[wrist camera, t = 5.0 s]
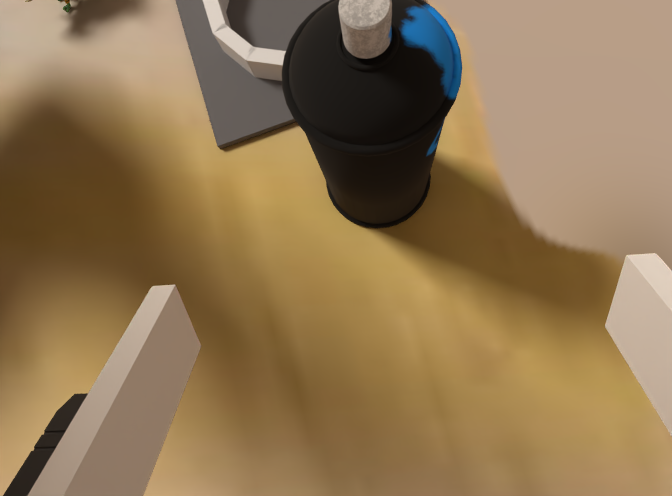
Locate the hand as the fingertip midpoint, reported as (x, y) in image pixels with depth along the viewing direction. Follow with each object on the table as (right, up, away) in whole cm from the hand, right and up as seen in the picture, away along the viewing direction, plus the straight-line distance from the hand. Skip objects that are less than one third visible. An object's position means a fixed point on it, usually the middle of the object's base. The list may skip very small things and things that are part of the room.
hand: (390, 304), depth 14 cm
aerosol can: (+2, +7, +22) cm, 24 cm away
